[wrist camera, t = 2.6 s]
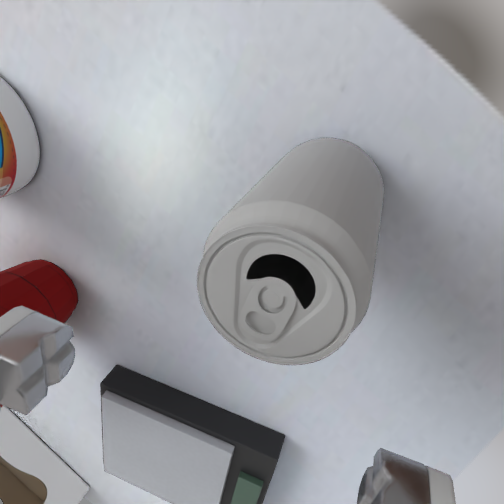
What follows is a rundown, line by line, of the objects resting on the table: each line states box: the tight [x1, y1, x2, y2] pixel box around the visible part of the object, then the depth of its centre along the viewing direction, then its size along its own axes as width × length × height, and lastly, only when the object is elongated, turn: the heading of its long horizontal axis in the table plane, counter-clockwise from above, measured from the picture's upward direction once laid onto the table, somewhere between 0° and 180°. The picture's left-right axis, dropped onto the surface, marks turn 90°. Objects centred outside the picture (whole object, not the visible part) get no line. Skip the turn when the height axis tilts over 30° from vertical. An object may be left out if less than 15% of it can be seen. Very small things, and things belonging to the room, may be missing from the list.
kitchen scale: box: [100, 365, 285, 504], centre depth 38 cm, size 17×13×3 cm
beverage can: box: [197, 138, 384, 365], centre depth 18 cm, size 6×6×12 cm
